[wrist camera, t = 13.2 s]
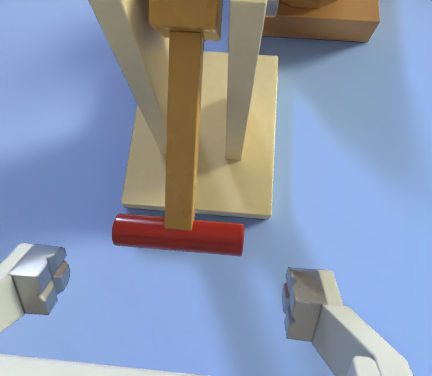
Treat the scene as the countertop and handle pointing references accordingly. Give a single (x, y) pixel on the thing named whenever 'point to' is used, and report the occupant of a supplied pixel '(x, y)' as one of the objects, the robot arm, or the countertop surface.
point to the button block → (324, 19)
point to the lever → (182, 139)
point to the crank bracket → (209, 113)
